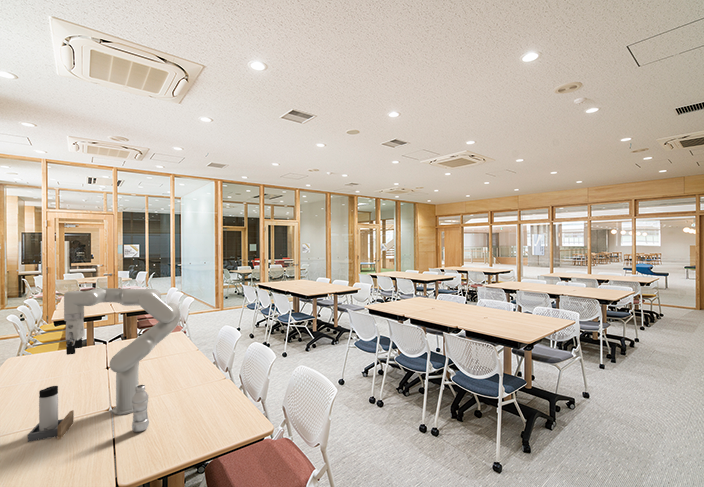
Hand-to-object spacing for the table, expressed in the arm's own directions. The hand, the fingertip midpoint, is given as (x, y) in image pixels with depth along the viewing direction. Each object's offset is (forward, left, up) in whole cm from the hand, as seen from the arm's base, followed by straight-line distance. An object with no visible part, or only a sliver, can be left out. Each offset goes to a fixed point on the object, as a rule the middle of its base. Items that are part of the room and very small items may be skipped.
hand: (74, 351), depth 161 cm
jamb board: (-1, +14, -32) cm, 35 cm away
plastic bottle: (-32, +27, -32) cm, 53 cm away
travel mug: (+5, +13, -32) cm, 35 cm away
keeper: (+5, +13, -32) cm, 35 cm away
